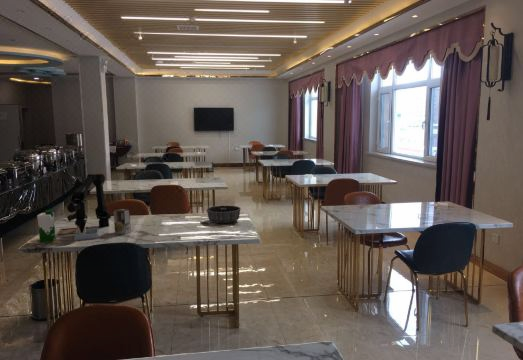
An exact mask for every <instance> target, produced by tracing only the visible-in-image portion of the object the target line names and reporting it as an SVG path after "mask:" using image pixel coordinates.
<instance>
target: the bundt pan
mask: <svg viewBox="0 0 523 360" xmlns="http://www.w3.org/2000/svg"><path fill="white" fill-rule="evenodd" d="M241 210H242V209H241V207H239V206H236V205H215V206H209V207H208V208H207V207H206V210H205V211H206V213H207V218H208V220H209V221H210V222H212V223H216V224H228V223H229V224H230V223H234V222H237V221H238V220H239V218H240V213H241Z"/></svg>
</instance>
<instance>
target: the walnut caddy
mask: <svg viewBox="0 0 523 360" xmlns="http://www.w3.org/2000/svg"><path fill="white" fill-rule="evenodd" d="M86 229H90V228H89V226H86ZM76 230H77V227H68V228H66V227H65V228H60V229H59V231H58V233H57V235H58V236H65V235H75V233H76Z"/></svg>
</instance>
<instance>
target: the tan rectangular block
mask: <svg viewBox="0 0 523 360" xmlns="http://www.w3.org/2000/svg"><path fill="white" fill-rule="evenodd" d="M86 227H87V226H86V224H85V227H84V230H83V233H81V231H80V229H79V226H78V235H81V234H86Z"/></svg>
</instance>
